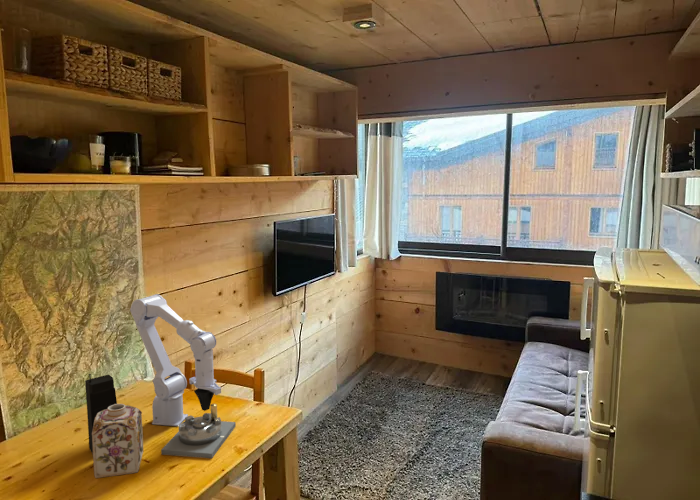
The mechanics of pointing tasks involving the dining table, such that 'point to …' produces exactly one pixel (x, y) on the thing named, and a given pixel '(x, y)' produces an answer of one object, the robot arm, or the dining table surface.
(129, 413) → the decorative jar
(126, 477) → the dining table surface
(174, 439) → the base plate
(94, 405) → the portable radio
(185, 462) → the dining table surface
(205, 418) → the notched steel disc
